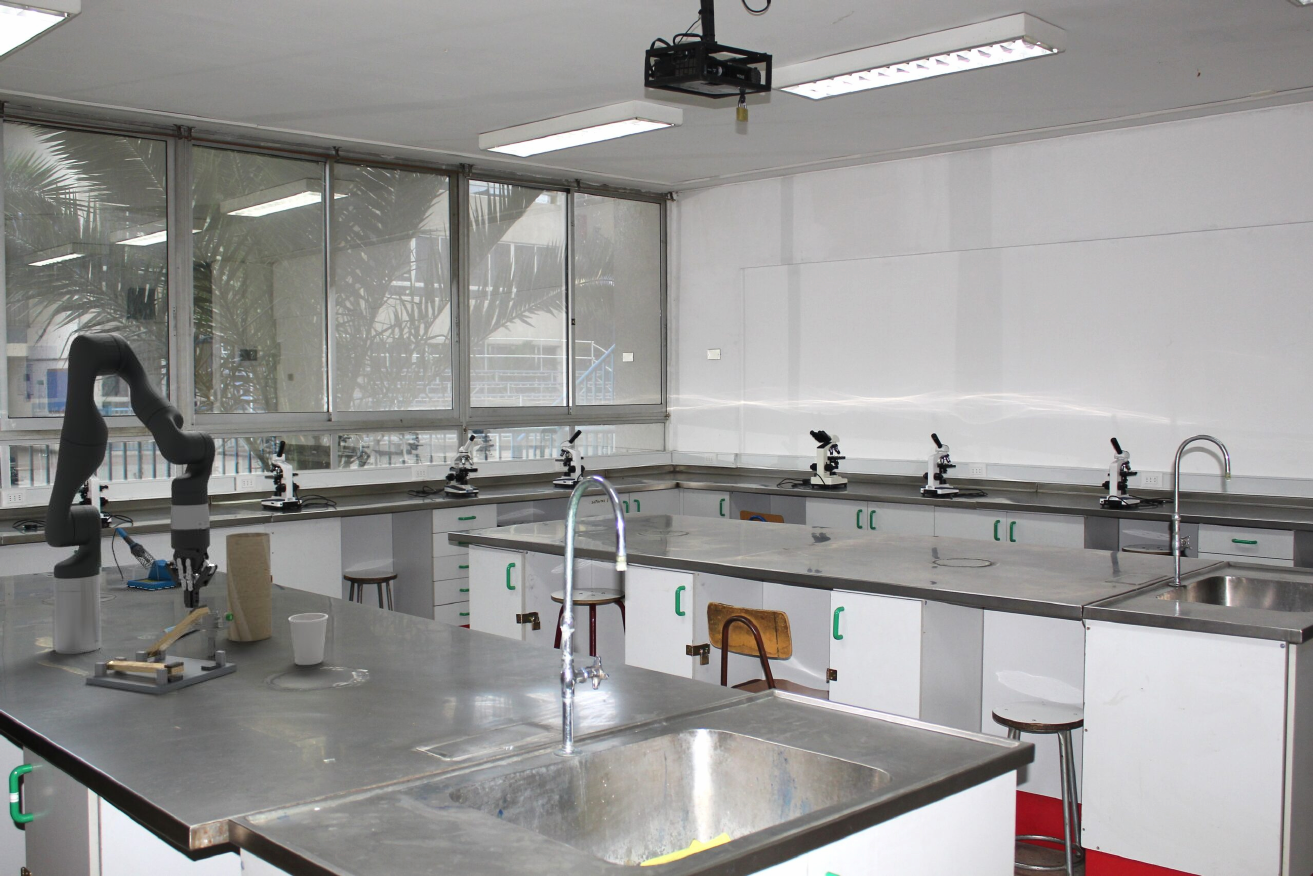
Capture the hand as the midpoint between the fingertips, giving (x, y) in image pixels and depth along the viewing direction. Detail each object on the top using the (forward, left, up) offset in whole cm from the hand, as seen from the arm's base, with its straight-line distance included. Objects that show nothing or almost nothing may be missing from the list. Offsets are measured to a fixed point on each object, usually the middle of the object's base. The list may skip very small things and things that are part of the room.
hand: (191, 607), depth 221 cm
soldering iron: (-93, +86, -15) cm, 128 cm away
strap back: (-12, 0, -11) cm, 16 cm away
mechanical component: (-8, +13, -14) cm, 21 cm away
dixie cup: (+16, +17, -14) cm, 27 cm away
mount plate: (-3, -5, -14) cm, 15 cm away
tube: (-14, +31, -14) cm, 37 cm away
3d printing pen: (-32, +31, -18) cm, 48 cm away
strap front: (-12, -10, -11) cm, 19 cm away
